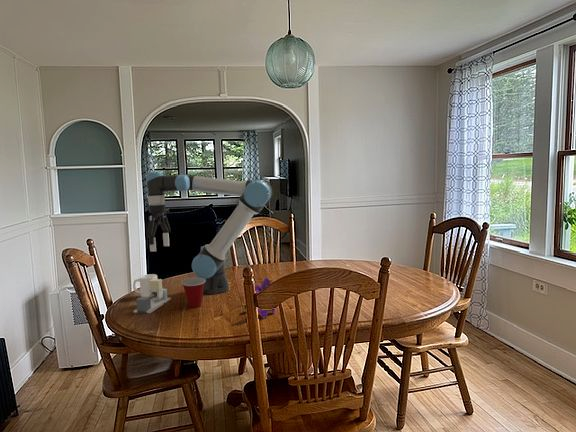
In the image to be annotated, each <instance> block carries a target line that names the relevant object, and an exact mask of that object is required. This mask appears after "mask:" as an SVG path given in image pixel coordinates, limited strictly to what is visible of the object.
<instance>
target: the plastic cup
mask: <svg viewBox="0 0 576 432" xmlns="http://www.w3.org/2000/svg"><path fill="white" fill-rule="evenodd" d="M205 281H206V280H205V279H204V278H201V277H198V276H197V277H188V278H185V279H182V280H181V282H180V283H181V285H182V288H183V290H184V293H185V298H186V301H187V306H188V307H189V308H191V309H192V308H193V309H195V308H199V307H202V303H203V297H204V293H203V289H204V283H205Z"/></svg>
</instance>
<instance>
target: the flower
mask: <svg viewBox="0 0 576 432" xmlns="http://www.w3.org/2000/svg"><path fill="white" fill-rule="evenodd" d="M270 284H271V281H270V279H269V278H268V277H266V278H264V279H263V281H262V283H261V284H260V285H258V284H257V285H256V284H255V291H256V293H258V292H260V291H261V290H263V289H264V288H265V287H267V286H268V285H270ZM243 308H244V310H245V311H246V305H245V304H244V307H243ZM275 311H276V308H275V309H272V310H262V309H258V311H257V312H258V313H259V314H261V318H262V319H263V317H267V316H268V312H271V313H272V314H275Z"/></svg>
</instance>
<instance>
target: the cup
mask: <svg viewBox="0 0 576 432" xmlns="http://www.w3.org/2000/svg"><path fill="white" fill-rule="evenodd" d="M152 279H158V275H157V274H155V273H152V274H151V273H150V274H148V273H147V274H144V275H140V276H139V278H136V279H134V281H133V283H132V288H133V289H132V290H133V291H134V292H135V293H136V294H140V297H146V296H150V284H149V281H150V280H152ZM137 282H138V283H139V289H140V290H138V289H136V284H137Z"/></svg>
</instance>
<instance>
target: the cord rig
mask: <svg viewBox="0 0 576 432" xmlns="http://www.w3.org/2000/svg"><path fill="white" fill-rule="evenodd" d="M155 296H157V292H155V293H153V294H151V295H150V296H146V297H141V296H140V297H138V298H136V299H135V300H136V308H135V309H134V310H133V313H134V314H135V313H136V314H137V313H139V314H140V313H141V314H151V313H153V312H155V310H157V309H159V308H160V307H162V306H163V305H164V303H165V304H166V303H168V302H169V301H171V299H172V298H171V297H169V296H168V288H163V298H161V299H160V300H151V299H152V298H154V297H155Z"/></svg>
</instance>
